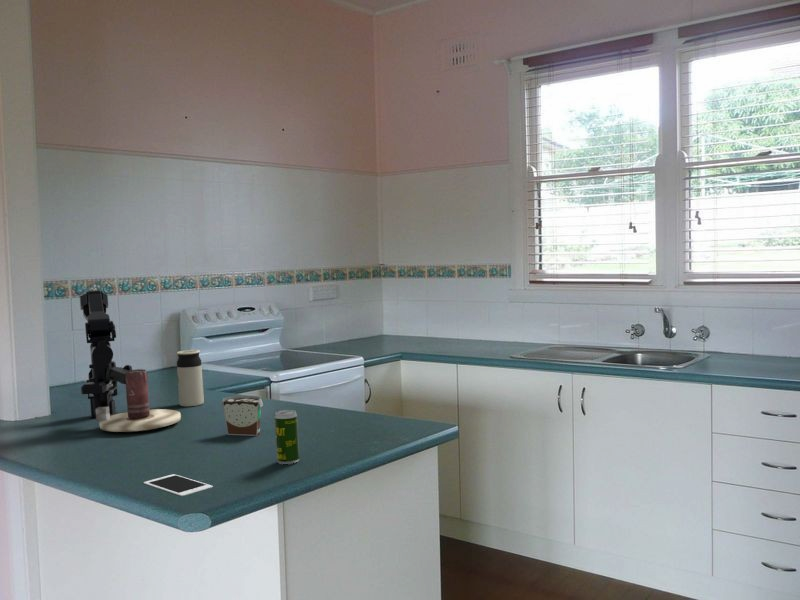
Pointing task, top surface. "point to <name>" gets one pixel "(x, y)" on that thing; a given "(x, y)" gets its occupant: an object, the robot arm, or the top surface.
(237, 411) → the food container
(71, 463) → the top surface
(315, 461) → the top surface
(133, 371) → the can
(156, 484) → the cell phone
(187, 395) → the travel mug
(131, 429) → the turntable
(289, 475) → the top surface
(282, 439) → the beer can
